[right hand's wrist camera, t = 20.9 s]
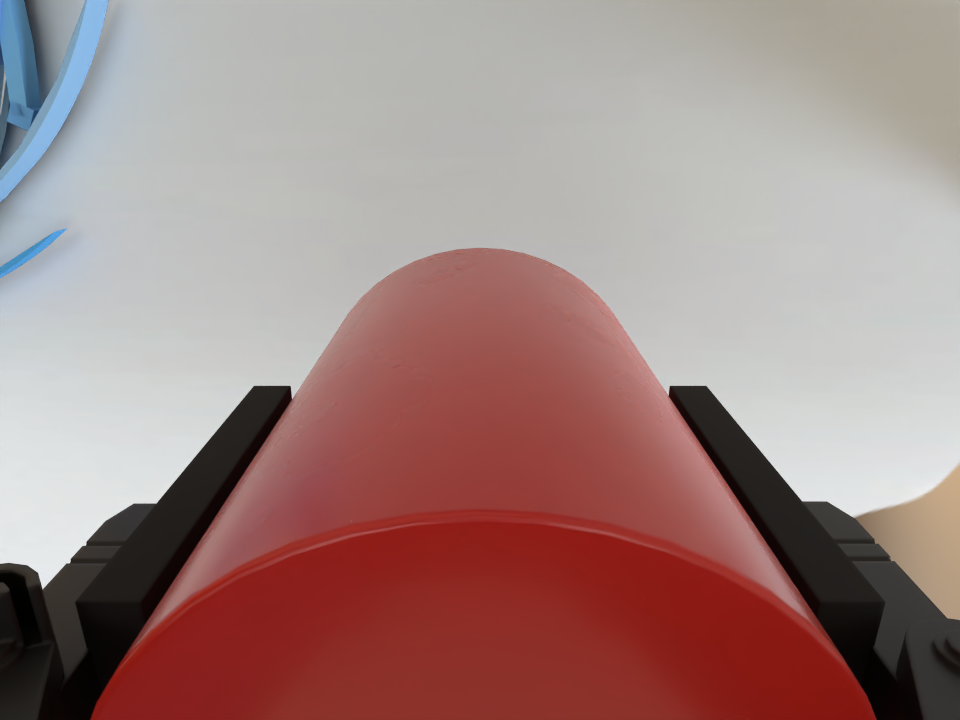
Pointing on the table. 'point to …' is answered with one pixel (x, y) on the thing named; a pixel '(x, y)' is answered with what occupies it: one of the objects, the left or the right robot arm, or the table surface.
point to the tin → (482, 536)
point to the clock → (38, 94)
